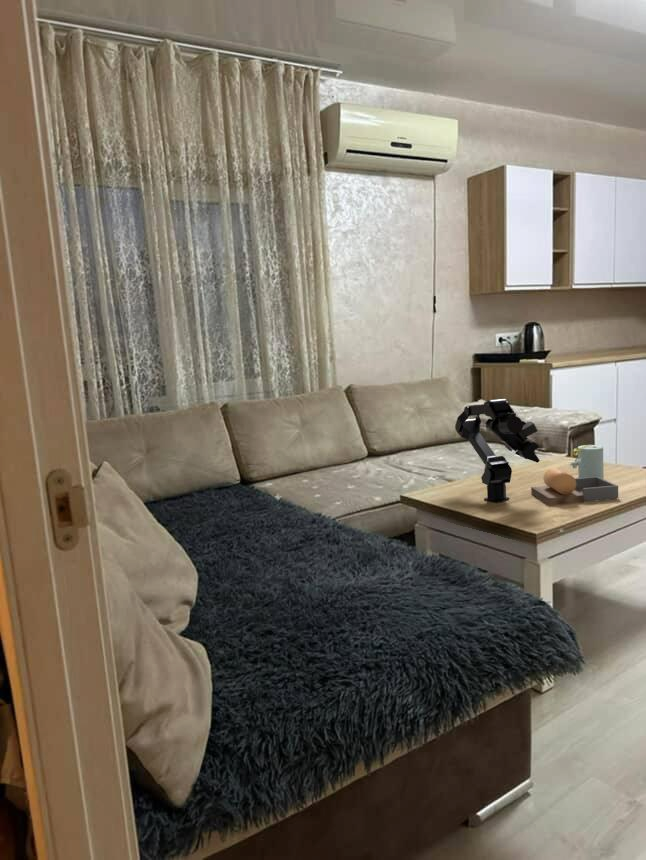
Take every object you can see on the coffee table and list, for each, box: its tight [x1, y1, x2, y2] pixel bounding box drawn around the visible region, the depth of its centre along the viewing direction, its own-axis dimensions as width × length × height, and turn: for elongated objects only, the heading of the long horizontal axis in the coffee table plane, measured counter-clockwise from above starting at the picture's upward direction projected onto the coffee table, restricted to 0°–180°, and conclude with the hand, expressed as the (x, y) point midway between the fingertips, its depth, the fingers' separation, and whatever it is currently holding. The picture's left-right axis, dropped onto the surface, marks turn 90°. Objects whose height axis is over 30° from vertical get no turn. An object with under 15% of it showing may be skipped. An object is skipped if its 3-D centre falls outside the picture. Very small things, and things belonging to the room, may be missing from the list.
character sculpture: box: [570, 444, 605, 480], centre depth 233 cm, size 20×12×13 cm, turn 137°
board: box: [530, 485, 585, 506], centre depth 214 cm, size 12×16×2 cm
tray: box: [574, 477, 619, 503], centre depth 214 cm, size 12×15×4 cm
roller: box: [542, 467, 576, 495], centre depth 213 cm, size 11×7×7 cm, turn 2°
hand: (538, 461), depth 212 cm, fingers closed
